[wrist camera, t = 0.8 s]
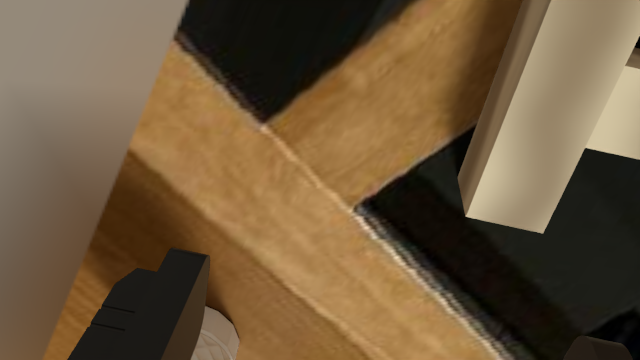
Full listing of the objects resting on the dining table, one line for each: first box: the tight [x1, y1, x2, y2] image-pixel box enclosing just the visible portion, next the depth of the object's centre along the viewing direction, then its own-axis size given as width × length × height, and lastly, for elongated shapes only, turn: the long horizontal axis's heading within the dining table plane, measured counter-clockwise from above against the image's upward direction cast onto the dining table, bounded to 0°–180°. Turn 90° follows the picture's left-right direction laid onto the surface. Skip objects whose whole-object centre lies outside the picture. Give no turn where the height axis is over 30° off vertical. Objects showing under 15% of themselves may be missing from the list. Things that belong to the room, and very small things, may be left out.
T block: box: [457, 0, 640, 233], centre depth 27 cm, size 12×14×4 cm
